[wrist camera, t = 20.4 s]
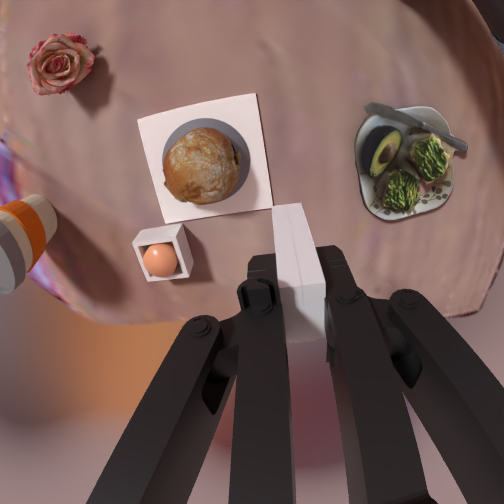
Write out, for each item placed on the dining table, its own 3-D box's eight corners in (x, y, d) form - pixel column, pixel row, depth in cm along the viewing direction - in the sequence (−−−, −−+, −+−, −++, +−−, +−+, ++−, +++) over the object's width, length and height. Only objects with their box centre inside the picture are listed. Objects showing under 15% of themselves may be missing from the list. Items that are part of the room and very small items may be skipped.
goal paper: (137, 119, 34) (136, 119, 34) (255, 93, 32) (255, 93, 32) (166, 222, 42) (165, 223, 42) (273, 206, 41) (273, 208, 40)
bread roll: (243, 177, 42) (265, 181, 35) (184, 216, 40) (194, 230, 33) (209, 119, 37) (225, 110, 30) (146, 158, 36) (147, 158, 29)
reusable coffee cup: (42, 255, 46) (0, 303, 34) (9, 204, 40) (-40, 244, 28) (76, 230, 43) (28, 282, 30) (40, 171, 37) (-20, 209, 25)
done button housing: (141, 230, 43) (132, 242, 40) (182, 223, 42) (175, 236, 39) (154, 267, 47) (147, 281, 43) (194, 262, 46) (189, 277, 43)
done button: (144, 240, 42) (138, 250, 39) (174, 235, 41) (169, 246, 39) (155, 267, 44) (149, 279, 42) (184, 264, 44) (179, 275, 41)
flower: (38, 101, 30) (32, 108, 25) (29, 48, 23) (21, 45, 18) (94, 79, 33) (99, 82, 29) (88, 27, 27) (92, 20, 22)
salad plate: (456, 94, 30) (474, 97, 26) (462, 199, 39) (477, 211, 35) (342, 105, 33) (352, 107, 29) (362, 222, 42) (372, 237, 38)
